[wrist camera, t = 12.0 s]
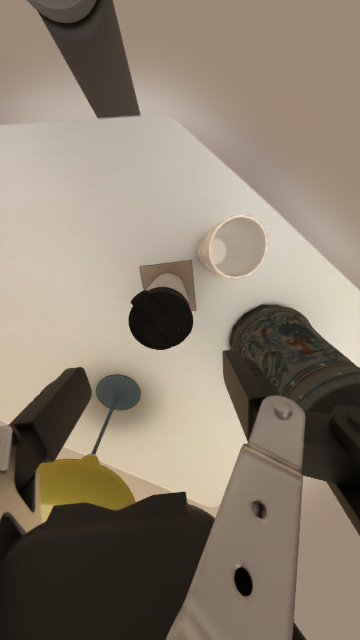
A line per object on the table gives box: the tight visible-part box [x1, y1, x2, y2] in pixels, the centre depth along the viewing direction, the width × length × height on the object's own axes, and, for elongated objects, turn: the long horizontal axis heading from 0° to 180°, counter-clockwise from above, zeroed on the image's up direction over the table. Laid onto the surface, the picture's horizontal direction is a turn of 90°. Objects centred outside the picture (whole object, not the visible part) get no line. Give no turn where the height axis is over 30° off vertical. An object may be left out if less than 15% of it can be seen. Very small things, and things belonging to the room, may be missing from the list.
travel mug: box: [129, 273, 193, 350], centre depth 26 cm, size 6×7×20 cm
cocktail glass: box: [37, 375, 140, 523], centre depth 32 cm, size 18×18×25 cm
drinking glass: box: [198, 215, 268, 279], centre depth 27 cm, size 7×7×15 cm
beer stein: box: [230, 305, 360, 415], centre depth 29 cm, size 16×19×25 cm
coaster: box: [140, 260, 196, 311], centre depth 36 cm, size 10×10×1 cm
